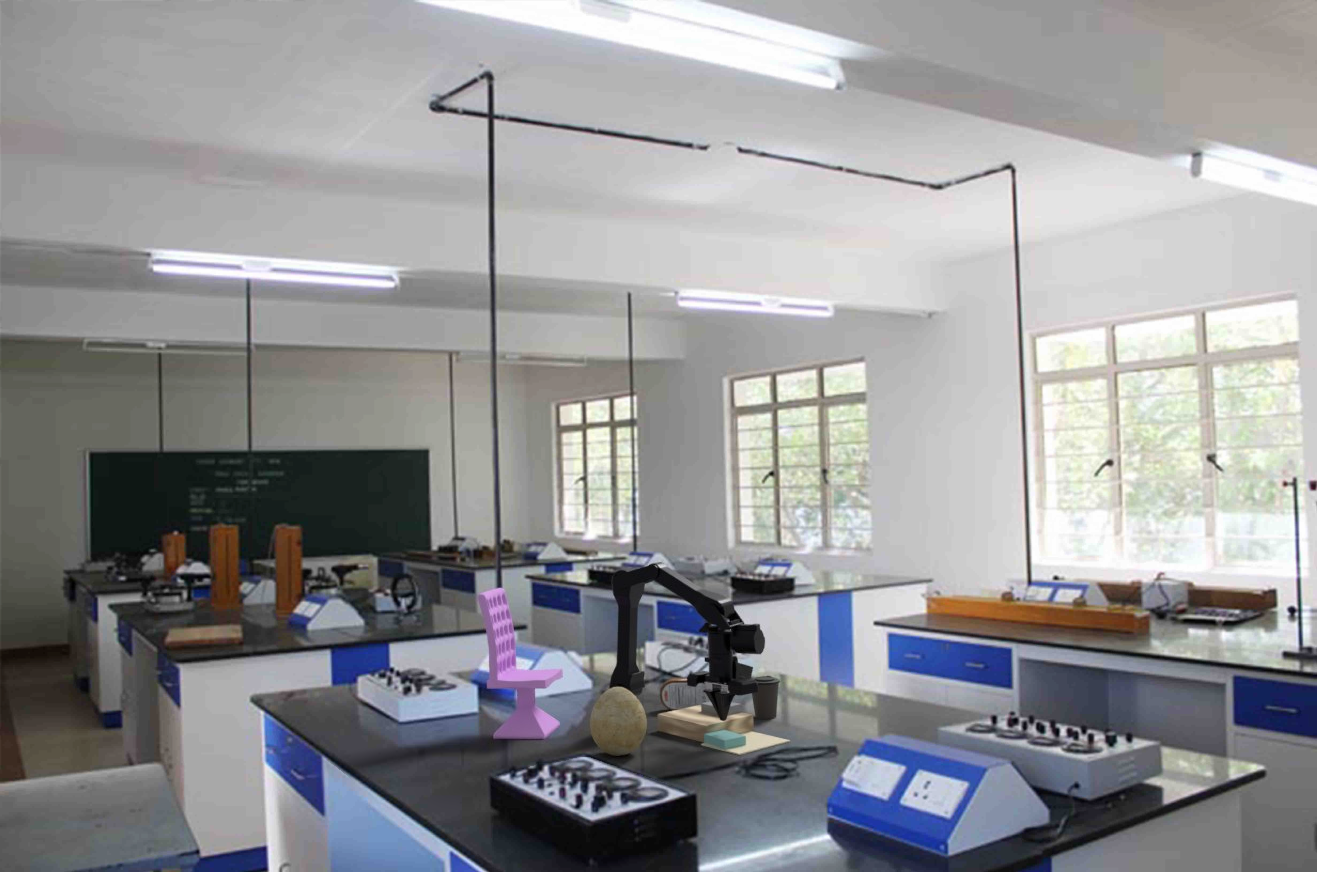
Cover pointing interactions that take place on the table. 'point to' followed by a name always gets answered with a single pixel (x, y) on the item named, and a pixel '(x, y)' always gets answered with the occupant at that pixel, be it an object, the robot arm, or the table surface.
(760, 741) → the mat
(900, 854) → the table surface
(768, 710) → the coffee cup
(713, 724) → the wooden block
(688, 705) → the tin
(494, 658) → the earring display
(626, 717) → the fossilized egg
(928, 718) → the table surface
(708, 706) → the gray rectangular block
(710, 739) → the teal block
